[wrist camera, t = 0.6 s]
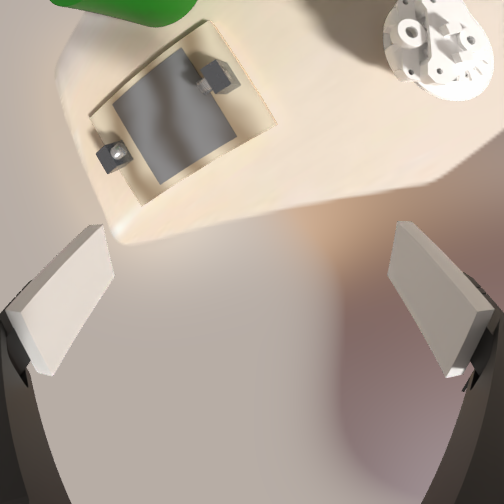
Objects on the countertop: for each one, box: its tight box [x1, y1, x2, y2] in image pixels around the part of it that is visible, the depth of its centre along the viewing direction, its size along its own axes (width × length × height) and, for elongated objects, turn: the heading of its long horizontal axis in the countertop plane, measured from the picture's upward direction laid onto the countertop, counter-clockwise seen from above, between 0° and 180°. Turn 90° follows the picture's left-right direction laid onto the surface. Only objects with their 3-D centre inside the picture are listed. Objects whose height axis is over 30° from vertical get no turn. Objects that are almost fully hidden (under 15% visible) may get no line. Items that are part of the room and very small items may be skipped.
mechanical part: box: [383, 0, 494, 101], centre depth 21 cm, size 11×12×12 cm
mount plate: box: [89, 20, 278, 206], centre depth 36 cm, size 21×15×1 cm
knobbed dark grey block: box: [96, 140, 134, 174], centre depth 37 cm, size 3×3×4 cm
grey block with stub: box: [196, 59, 241, 95], centre depth 30 cm, size 3×3×4 cm
